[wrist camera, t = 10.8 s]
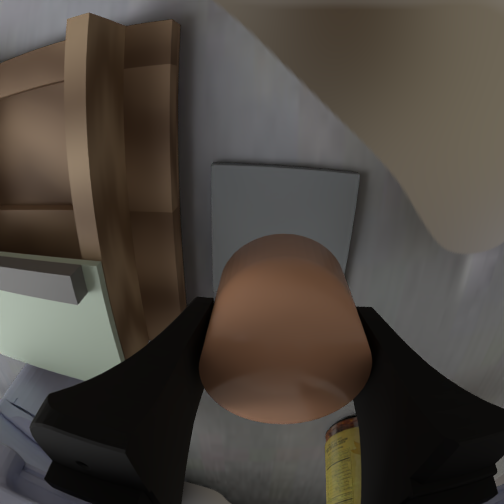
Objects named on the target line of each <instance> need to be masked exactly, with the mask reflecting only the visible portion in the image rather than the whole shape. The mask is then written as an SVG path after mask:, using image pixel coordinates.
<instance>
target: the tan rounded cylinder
mask: <svg viewBox="0 0 504 504" xmlns="http://www.w3.org/2000/svg"><path fill="white" fill-rule="evenodd" d="M371 368H372V355H371V350H370V347H369V344H368V341H367V338H366V335H365V332H364V329H363V326H362V323H361V320H360V317H359V315H358V312H357V309H356V306H355V303H354V300H353V298H352V295H351V292H350V289H349V286H348V284H347V281H346V278H345V276H344V273H343V270H342V268H341V266H340V264H339V262H338V260H337V259H336V257H335V256H334V255H333V254H332V253H331V252H330V251H329V250H328V249H327V248H326V247H324V246H323V245H321V244H320V243H318V242H316V241H314V240H312V239H310V238H307V237H304V236H300V235H295V234H273V235H268V236H264V237H261V238H257V239H255V240H253V241H251V242H249V243H247V244H246V245H244V246H242V247H241V248H240V249H239V250H237V251H236V252H235V253H234V254H233V255H232V257H231V258H230V259H229V261H228V262H227V263H226V265H225V267H224V269H223V272H222V275H221V278H220V282H219V286H218V290H217V293H216V297H215V301H214V305H213V309H212V313H211V317H210V321H209V325H208V329H207V333H206V337H205V341H204V345H203V349H202V353H201V357H200V362H199V374H200V378H201V382H202V384H203V386H204V388H205V390H206V391H207V392H208V394H209V395H210V396H211V397H212V398H213V399H214V401H216V402H217V403H218V404H219V405H220V406H222V407H223V408H225V409H226V410H228V411H230V412H232V413H234V414H236V415H238V416H240V417H243V418H246V419H249V420H253V421H257V422H262V423H270V424H293V423H302V422H307V421H311V420H315V419H318V418H321V417H324V416H326V415H329V414H331V413H333V412H335V411H337V410H339V409H340V408H342V407H344V406H345V405H347V404H348V403H349V402H350V401H352V400H353V399H354V398H355V397H356V396H357V395H358V394H359V393H360V391H361V390H362V389H363V388H364V386H365V384H366V383H367V381H368V378H369V376H370V373H371Z"/></svg>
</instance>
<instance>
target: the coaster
mask: <svg viewBox="0 0 504 504" xmlns="http://www.w3.org/2000/svg"><path fill="white" fill-rule="evenodd" d="M359 180H360V174H359V173H358V172H349V171H339V170H329V169H318V168H306V167H293V166H279V165H261V164H240V163H212V164H211V223H212V273H213V292H217V290H218V286H219V282H220V278H221V275H222V272H223V269H224V267H225V265H226V263H227V262H228V261H229V259H230V258H231V257H232V255H233V254H234V253H235V252H236V251H237V250H239V249H240V248H241V247H242V246H244V245H246V244H247V243H249V242H251V241H253V240H255V239H257V238H261V237H264V236H268V235H273V234H295V235H300V236H304V237H307V238H310V239H312V240H314V241H316V242H318V243H320V244H321V245H323V246H324V247H326V248H327V249H328V250H329V251H330V252H331V253H332V254H333V255H334V256H335V257H336V259H337V260H338V262H339V264H340V266H341V268H342V270H343V273H344V274H345V268H346V263H347V258H348V252H349V246H350V241H351V235H352V228H353V222H354V216H355V209H356V202H357V195H358V188H359Z"/></svg>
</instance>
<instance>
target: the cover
mask: <svg viewBox="0 0 504 504" xmlns="http://www.w3.org/2000/svg"><path fill="white" fill-rule="evenodd" d="M0 354H2V355H5V356H8V357H10V358H13V359H16V360H19V361H21V362H24V363H27V364H30V365H33V366H36V367H39V368H42V369H46V370H49V371H52V372H55V373H59V374H62V375H65V376H69V377H72V378H76V379H80V380H84V381H86V380H89V379H91V378H93V377H95V376H97V375H99V374H102V373H103V372H105V371H107V370H109V369H111V368H112V367H114V366H116V365H118V364H119V363H121V362H123V361H125V358H124V355H123V351H122V348H121V344H120V341H119V337H118V333H117V329H116V326H115V322H114V318H113V314H112V310H111V305H110V301H109V297H108V292H107V288H106V283H105V278H104V273H103V268H102V263H101V261H92V260H81V259H70V258H60V257H50V256H40V255H30V254H20V253H11V252H1V251H0Z"/></svg>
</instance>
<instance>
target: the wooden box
mask: <svg viewBox="0 0 504 504" xmlns="http://www.w3.org/2000/svg"><path fill="white" fill-rule="evenodd" d="M180 26H181V25H180V24H178V23H177V22H175V21H174V20H173V19H171V20H163V21H155V22H148V23H141V24H135V25H129V26H124V25H122V24H119V23H116V22H114V21H111V20H108V19H106V18H103V17H100V16H97V15H95V14H92V13H86V14H83V15H79V16H76V17H72V18H69V19H67V27H66V40H65V41H61V42H58V43H55V44H51V45H48V46H45V47H42V48H39V49H36V50H33V51H31V52H28V53H25V54H22V55H20V56H17V57H14V58H12V59H9V60H7V61H5V62H2V63H0V251H1V252H11V253H20V254H30V255H40V256H50V257H60V258H70V259H81V260H92V261H101V263H102V268H103V273H104V278H105V283H106V288H107V292H108V297H109V301H110V305H111V310H112V314H113V318H114V322H115V326H116V329H117V333H118V337H119V341H120V344H121V348H122V351H123V355H124V358H125V360H126V359H128V358H129V357H131V356H132V355H134V354H135V353H136V352H138V351H139V350H140V349H142V348H143V347H144V346H146V345H147V344H148V342H149V340H153V339H154V338H155V337H156V336H157V335H159V334H160V333H161V332H162V331H163V330H164V329H165V328H166V327H167V326H168V325H169V324H170V323H172V322H173V321H174V320H175V319H176V318H177V317H178V316H179V315H180V314H181V313H182V311H183V310H184V309H185V308H186V307H187V304H186V293H185V281H184V268H183V253H182V237H181V219H180V196H179V163H178V78H179V47H180Z"/></svg>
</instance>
